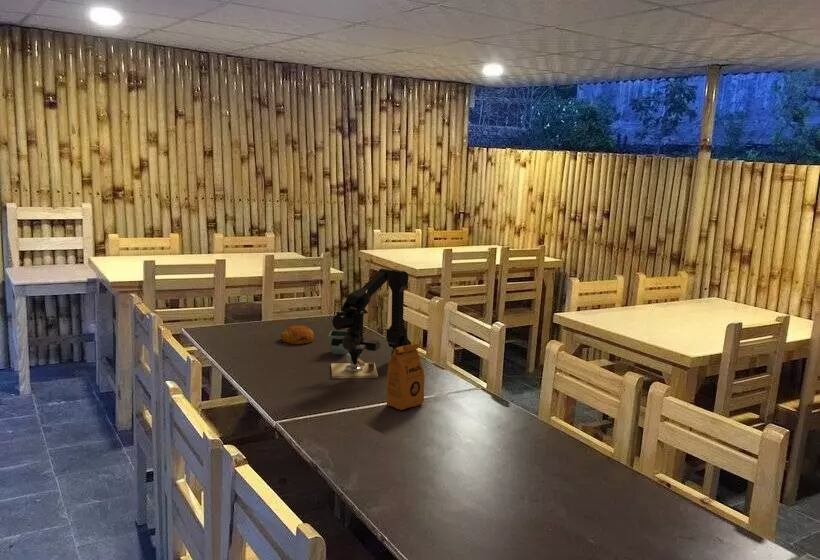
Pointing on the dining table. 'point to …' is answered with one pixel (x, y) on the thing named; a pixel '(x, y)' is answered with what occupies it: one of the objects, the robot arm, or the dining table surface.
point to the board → (340, 372)
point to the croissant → (297, 335)
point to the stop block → (371, 366)
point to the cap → (352, 361)
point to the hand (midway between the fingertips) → (355, 364)
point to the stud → (353, 368)
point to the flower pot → (339, 348)
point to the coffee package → (405, 378)
